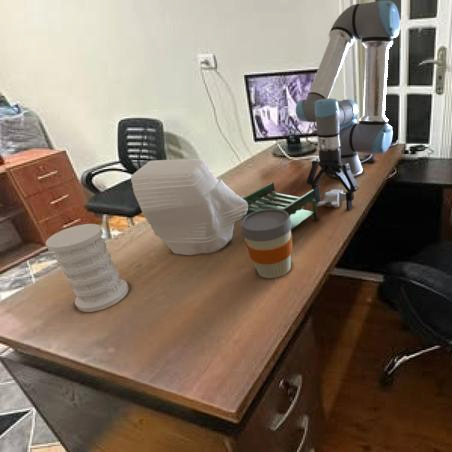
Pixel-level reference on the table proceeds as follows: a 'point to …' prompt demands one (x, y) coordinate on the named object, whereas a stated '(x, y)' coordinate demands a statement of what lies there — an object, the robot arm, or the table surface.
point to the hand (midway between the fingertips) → (333, 205)
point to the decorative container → (88, 267)
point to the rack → (292, 208)
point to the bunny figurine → (333, 198)
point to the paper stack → (187, 205)
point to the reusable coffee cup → (269, 241)
